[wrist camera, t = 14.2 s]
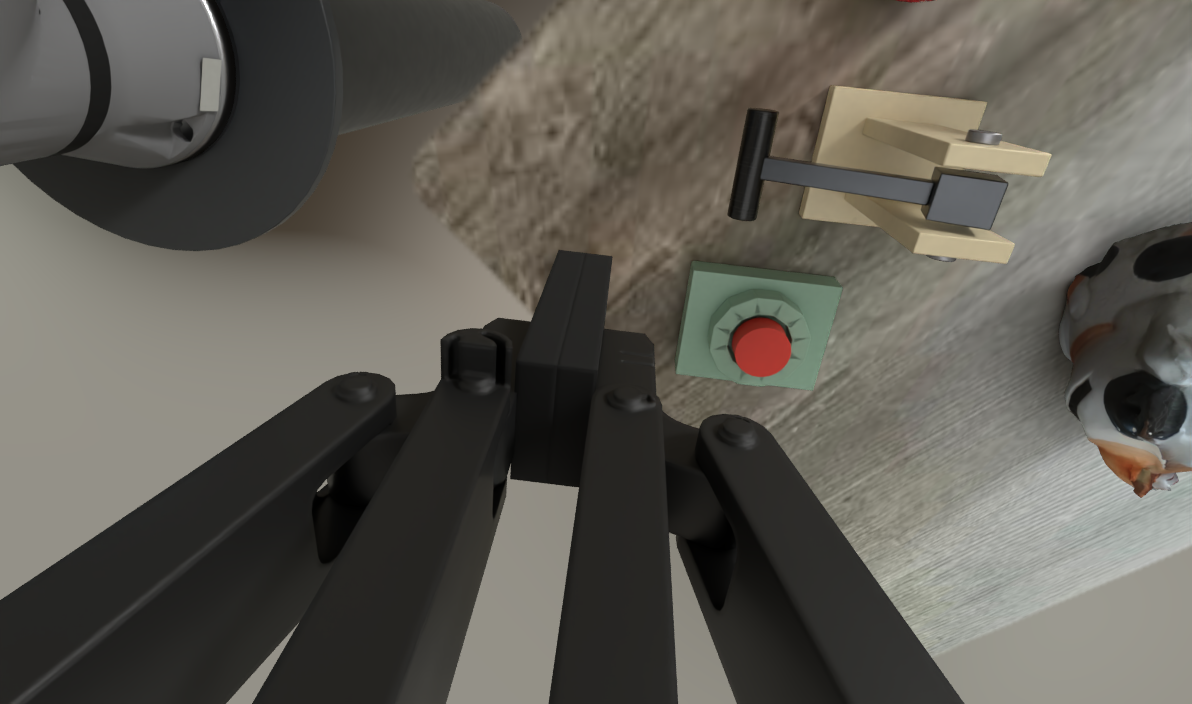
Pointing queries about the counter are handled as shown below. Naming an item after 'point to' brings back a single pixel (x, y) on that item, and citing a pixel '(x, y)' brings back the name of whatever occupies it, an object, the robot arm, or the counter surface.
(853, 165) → the beige lever stand
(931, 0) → the soda can
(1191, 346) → the lucky cat figurine
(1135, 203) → the counter surface
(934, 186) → the lever handle
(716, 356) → the block
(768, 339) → the red button
